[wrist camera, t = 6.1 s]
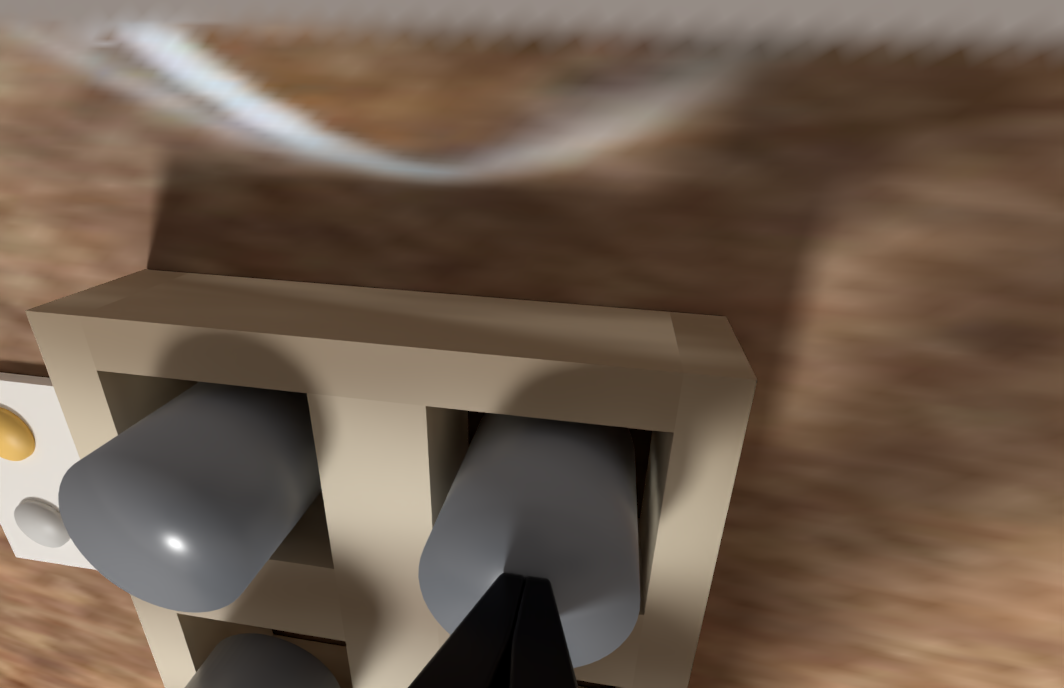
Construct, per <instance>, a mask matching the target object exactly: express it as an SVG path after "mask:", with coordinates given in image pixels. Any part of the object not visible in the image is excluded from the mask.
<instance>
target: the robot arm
mask: <svg viewBox="0 0 1064 688" xmlns="http://www.w3.org/2000/svg"><path fill="white" fill-rule="evenodd" d="M408 688H578V684H577V680H576V676H575V672H574V669H573V665H572V661H571V657H570V653H569V650H568V646H567V642H566V638H565V634H564V631H563V627H562V623H561V619H560V615H559V612H558V608H557V604H556V600H555V596H554V593H553V589H552V585H551V582H550V581H549V580H548V579H546V578H540V577H533V576H528V577H527V578H526V580H525V577H524V576H523V575H519V574H512V573H502V574H500V575H499V576H498V578H497V579H496V580H495V581H494V582H493V584H492V585H491V586H490V587H489V589H488V590H487V591H486V592H485V593H484V595H483V596H482V597H481V598H480V600H479V601H478V602H477V603H476V605H475V606H474V607H473V608H472V609H471V611H470V612H469V613H468V614H467V616H466V617H465V618H464V619H463V620H462V622H461V623H460V624H459V625H458V627H457V628H456V629H455V630H454V631H453V633H452V634H451V635H450V636H449V638H448V639H447V640H446V641H445V642H444V644H443V645H442V646H441V647H440V649H439V650H438V651H437V652H436V653H435V655H434V656H433V657H432V658H431V660H430V661H429V662H428V663H427V664H426V666H425V667H424V668H423V669H422V671H421V672H420V673H419V674H418V675H417V677H416V678H415V679H414V680H413V682H412V683H411V684H410V685H409V687H408Z"/></svg>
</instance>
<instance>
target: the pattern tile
mask: <svg viewBox="0 0 1064 688" xmlns="http://www.w3.org/2000/svg"><path fill="white" fill-rule="evenodd" d="M79 460H80V457H79V455H78V452H77V449H76V447H75V444H74V441H73V438H72V436H71V433H70V430H69V428H68V425H67V422H66V420H65V417H64V414H63V412H62V409H61V406H60V403H59V401H58V398H57V395H56V393H55V390H54V387H53V385H52V382H51V379H50V378H47V377H38V376H29V375H20V374H11V373H2V372H0V524H1V526H2V528H3V530H4V532H5V535H6V537H7V539H8V541H9V543H10V545H11V547H12V549H13V552H14V554H15V556H16V557H19V558H25V559H31V560H38V561H44V562H50V563H56V564H63V565H69V566H75V567H82V568H88V569H94V570H96V569H95V568H94V567H93V566H92V565H91V564H90V563H89V562H88V560H87V559H86V558H85V557H84V556H83V555H82V554H81V552H80V551H79V550H78V548H77V547H76V546H75V544H74V543H73V541H72V539H71V538H70V536H69V534H68V532H67V530H66V528H65V526H64V524H63V521H62V518H61V515H60V510H59V503H58V493H59V487H60V484H61V481H62V478H63V476H64V475H65V473H66V472H67V470H68V469H69V468H70V467H71V466H72V465H73V464H75V463H76V462H78V461H79Z"/></svg>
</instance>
